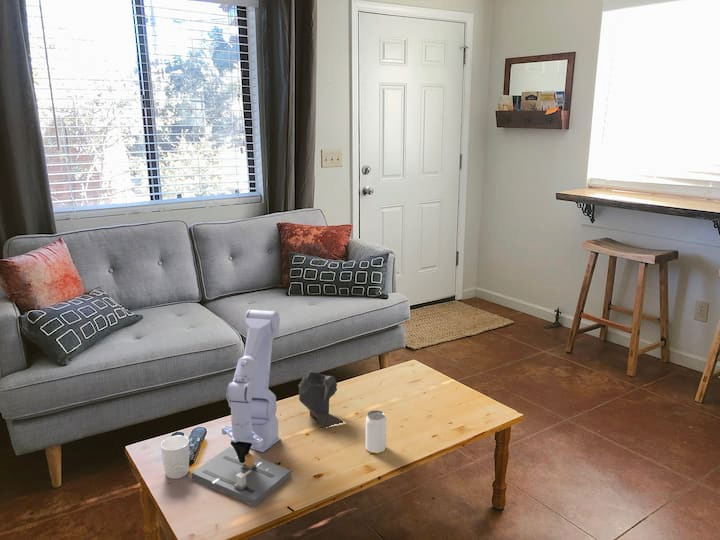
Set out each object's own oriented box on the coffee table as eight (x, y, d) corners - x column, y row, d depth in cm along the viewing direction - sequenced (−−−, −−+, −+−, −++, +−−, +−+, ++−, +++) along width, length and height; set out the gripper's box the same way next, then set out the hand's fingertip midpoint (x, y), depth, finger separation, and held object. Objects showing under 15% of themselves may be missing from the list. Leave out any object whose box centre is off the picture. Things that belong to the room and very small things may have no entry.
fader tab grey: (240, 481, 167) (240, 470, 167) (248, 484, 166) (248, 473, 165) (233, 486, 165) (233, 475, 164) (242, 490, 164) (241, 479, 163)
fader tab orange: (249, 462, 177) (248, 451, 176) (256, 465, 175) (256, 454, 174) (242, 466, 174) (242, 456, 173) (250, 469, 173) (250, 459, 172)
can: (387, 444, 191) (388, 411, 188) (383, 455, 185) (383, 421, 182) (368, 441, 192) (368, 408, 189) (363, 452, 186) (363, 418, 183)
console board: (229, 452, 186) (229, 446, 185) (290, 476, 174) (290, 470, 173) (190, 479, 172) (190, 473, 172) (253, 507, 160) (253, 500, 160)
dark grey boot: (332, 404, 217) (332, 358, 212) (346, 424, 203) (347, 376, 198) (294, 410, 212) (293, 364, 207) (306, 432, 198) (306, 382, 193)
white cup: (180, 461, 181) (178, 432, 178) (196, 471, 176) (194, 441, 173) (158, 473, 175) (155, 443, 172) (173, 483, 170) (170, 453, 167)
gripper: (213, 419, 172) (215, 460, 176) (251, 433, 165) (253, 475, 169) (230, 409, 178) (232, 449, 182) (267, 422, 171) (269, 463, 175)
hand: (243, 461), depth 176 cm, fingers closed
